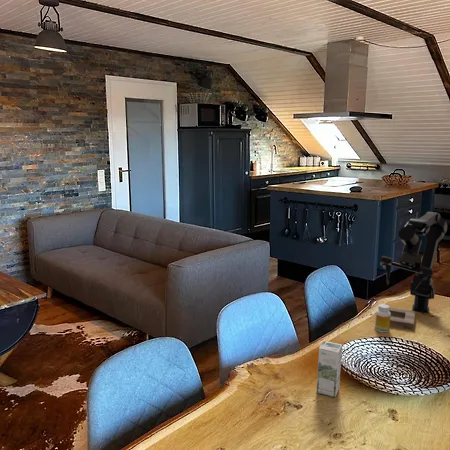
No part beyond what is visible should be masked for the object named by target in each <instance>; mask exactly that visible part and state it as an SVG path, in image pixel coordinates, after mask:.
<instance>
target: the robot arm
mask: <svg viewBox="0 0 450 450" xmlns="http://www.w3.org/2000/svg"><path fill="white" fill-rule="evenodd" d="M447 231H448V224H447V220H445V219H444V218H443V217H442V216H441V214H440V213H439V212H437V211H436V212H435V211H434V212H433V211H427V212H426V213H425V214H423V215H422V216H421V217H419V218H410V219H409V220H407V222H406V224H404V226H403V227H401V228H400V229H399V230H398V237H399V239H400V240H401V242H402V243H403V244H404V245H403V246H402V247H403V249H402V252H401V254H400V257H399V260H398V261H395V260H393V259H394V258H393V257H390V256H386V255H382V256H381V258H380V261H379V265H380V266H381V267H382V269H384V270H385V275H386V286H388V285H389V283H390V278H391V277H390V276H391V270H392V267H396V268H399V269H403V270H406V271H410V272H413V273H416V274H414V275H413V278H412V281H411V282H410V286H409V291H410V295H411V296H414V299H413V300H414V301H413V304H412V308H411V311H415V312H420V313H425V314H427V313H428V314H429V312H430V307H429V305H430V303H429V302H430V300H435V293H436V292H435V289H434V284H433V283H434V281H433V279H432V276H433V274H434V270H433V266H434V262H435V259H436V253H437V248H438V244H439V243H440V241H441V240H442V239H444V237H445V234H446V233H447ZM421 236H425V238H426V243H425V246H424V249H423V253H422V254H419V253H420V249H421V246H422V243H423V239H422V238H421ZM416 263H417V264H420V267H417V266H416Z"/></svg>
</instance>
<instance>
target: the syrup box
mask: <svg viewBox="0 0 450 450" xmlns="http://www.w3.org/2000/svg"><path fill="white" fill-rule="evenodd" d="M342 355H343V344H341V343H336V342H331V341H327V340H323V341H322V342H321V344H320V346H319V348H318V362H317V364H318V365H317V374H316V375H317V376H316V377H317V378H316V379H317V380H316V389H315V390H316V394H320V395H323V396H327V397H331V398H336V396H337V394H338V393H339V390H340V384H341V382H340V379H341V367H342V357H343V356H342Z"/></svg>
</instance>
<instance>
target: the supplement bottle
mask: <svg viewBox="0 0 450 450" xmlns="http://www.w3.org/2000/svg"><path fill="white" fill-rule="evenodd" d="M389 307H390V305H388V304H385V303H383V304H382V303H380V304H378V307H377V310H376V311H375V318H374V319H375V320H374V330H375V331H376V332H379V333H389V332H390V327H391V326H390V317H391V313H390V312H389ZM378 309H379V310H378Z"/></svg>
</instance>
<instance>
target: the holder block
mask: <svg viewBox="0 0 450 450" xmlns="http://www.w3.org/2000/svg"><path fill="white" fill-rule="evenodd" d="M377 310H379V309H378V308H377ZM389 312H390V313H391V317H390V327H393V328H394V327H395V328H399V329H405V330H410V331H413V330H414V323H415V315H416V311H413V310H409V309H404V308H403V309H402V308H396V307H391V306H389Z"/></svg>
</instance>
